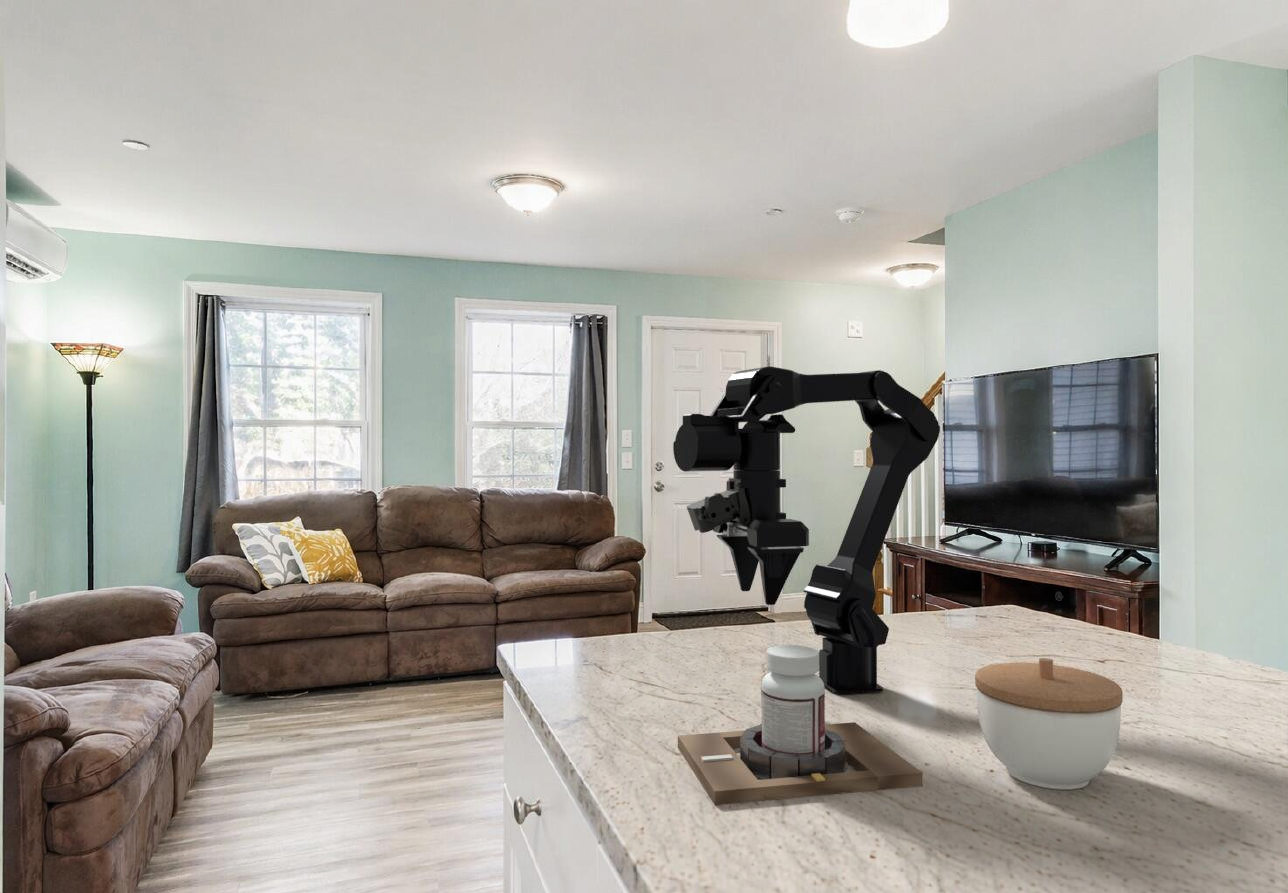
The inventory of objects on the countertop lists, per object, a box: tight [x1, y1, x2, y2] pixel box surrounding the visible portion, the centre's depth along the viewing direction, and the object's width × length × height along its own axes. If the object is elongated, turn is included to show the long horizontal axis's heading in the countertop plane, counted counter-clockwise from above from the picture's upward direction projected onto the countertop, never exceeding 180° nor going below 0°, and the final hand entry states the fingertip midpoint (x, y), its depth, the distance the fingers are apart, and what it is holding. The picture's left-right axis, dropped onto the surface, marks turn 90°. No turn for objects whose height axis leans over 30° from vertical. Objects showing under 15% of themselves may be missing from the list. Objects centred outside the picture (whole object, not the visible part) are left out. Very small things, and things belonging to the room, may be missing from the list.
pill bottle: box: [760, 644, 826, 755], centre depth 80 cm, size 6×6×11 cm
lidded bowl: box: [974, 657, 1124, 791], centre depth 77 cm, size 13×13×11 cm
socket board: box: [677, 721, 924, 806], centre depth 80 cm, size 20×14×2 cm
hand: (757, 597), depth 99 cm, fingers open, 9 cm apart
